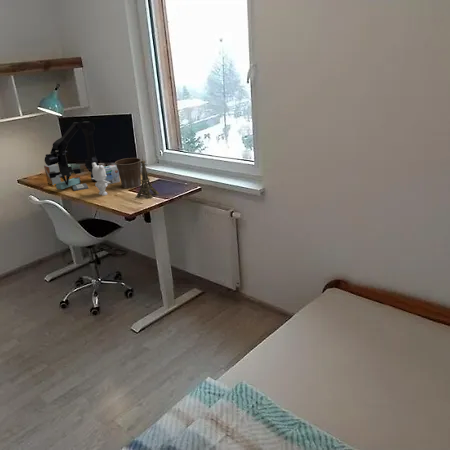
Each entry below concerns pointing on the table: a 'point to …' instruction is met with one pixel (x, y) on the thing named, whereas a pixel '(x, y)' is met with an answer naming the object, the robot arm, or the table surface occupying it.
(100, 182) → the white bear figurine
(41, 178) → the table surface
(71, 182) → the swing arm
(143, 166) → the eiffel tower
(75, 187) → the label panel
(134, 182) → the plant pot
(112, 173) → the light bulb box
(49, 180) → the small box
